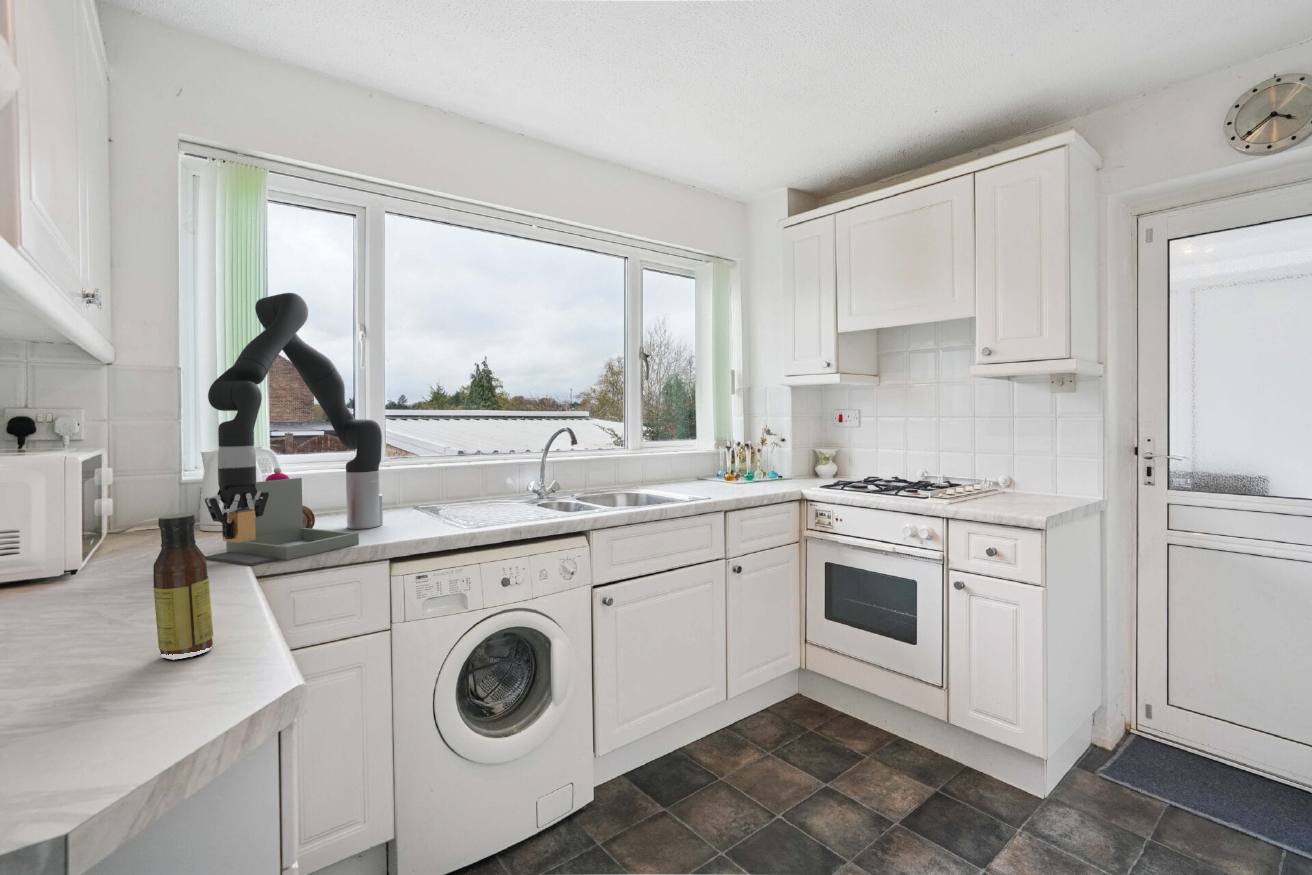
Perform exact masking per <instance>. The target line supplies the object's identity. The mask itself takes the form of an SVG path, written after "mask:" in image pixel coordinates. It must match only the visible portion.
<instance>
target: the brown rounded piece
mask: <svg viewBox="0 0 1312 875" xmlns="http://www.w3.org/2000/svg"><path fill="white" fill-rule="evenodd" d="M302 507H303V528H311V529H314V526H315V523H316V517H315V515H314V512H313V511H312V510H311V509H310V508H309V507H308V506H306V505H302Z"/></svg>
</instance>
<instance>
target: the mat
mask: <svg viewBox="0 0 1312 875" xmlns="http://www.w3.org/2000/svg"><path fill="white" fill-rule="evenodd" d="M205 557H206V561H207V560H208V561H213V562H214V561H216V562H221V563H231V564H235V565H243V566H244V565H245V566H250V567H253V566H257V565H261V564H267V563H271V562H276V561H278V559H277V558H275V557H267V556H259V555H252V554H244V553H237V552H227V551H226V552H221V553H216V554H210V555H206V556H205Z"/></svg>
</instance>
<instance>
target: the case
mask: <svg viewBox="0 0 1312 875" xmlns="http://www.w3.org/2000/svg"><path fill="white" fill-rule="evenodd" d="M302 478H303V477H296V478H295V477H294V478H289V479H283V480H272V481H265V480H263V481H256V484H255V487H256V489H257V491H260V492H268V493H269V496H268V499H267V503H266V506H265V509H264V513H263V515H262V516H259V517H257V518H256V519H255V532H256V540H251V541H245V542H240V543H237V542H229V541H225V542H226V552H237V553H244V554H252V555H259V556H267V557H275V558H277V560H283V561H290V560H294V559H298V558H303V557H308V556H312V555H316V554H321V553H326V552H330V550H331V551H333V550H332V549H335V550H340V549H344V548H347V547H346V546H349V547H354V546H358V545H359V544H360V540H359V536H360V535H359V533H360V532H350V531H340V530H330V529H320V528H312V529H311V528H303V507H302V506H303V479H302ZM255 497H256V496H255ZM252 502H253V505H255V502H256V498H254V499H253V501H252ZM229 509H230V508H229ZM301 540H303V541H304V540H305V541H308V542H303V543H296V544H292V545H282V544H285V543H291V542H296V541H301ZM312 540H313V541H312ZM357 544H358V545H357ZM343 547H344V548H343ZM339 548H340V549H339Z"/></svg>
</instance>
